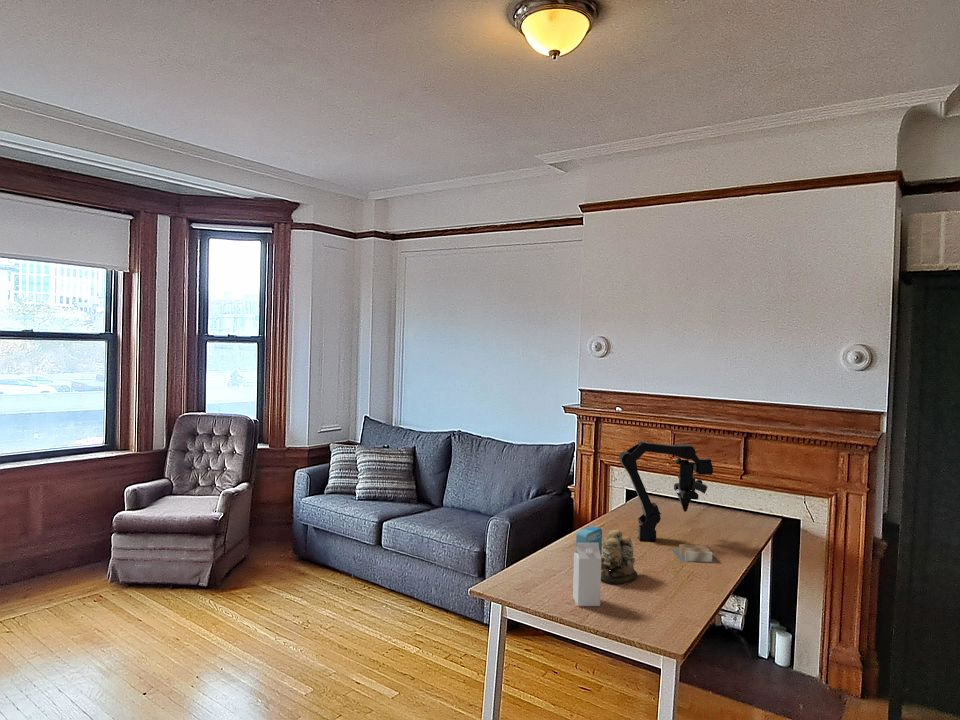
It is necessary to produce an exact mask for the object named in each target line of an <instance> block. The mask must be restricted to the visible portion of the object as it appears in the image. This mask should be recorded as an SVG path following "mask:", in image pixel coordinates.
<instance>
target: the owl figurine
mask: <svg viewBox="0 0 960 720" xmlns="http://www.w3.org/2000/svg"><path fill="white" fill-rule="evenodd" d="M632 541H633V540H632V538H631V536H628V535H624V536H623V533H622V531H621V530H620V529H611V530H609V532H608V533H607V535H606V538H604V540H603V541H602V554H603V555H602V556H603V557H604V561H603V562H601V566H603V568H604V569H603V570H601V582H605V583H608V584H610V585H614V586H621V585H622V586H623V585H624V584H625V585H626V584H632V583H633V582H635V581H636V580H637V579H638V572H637V571H636V570H635V568H634V563H635V561H636V559H635V557H634V547H633V546H634V544H633V542H632ZM609 570H611V571H609Z"/></svg>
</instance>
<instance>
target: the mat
mask: <svg viewBox="0 0 960 720" xmlns="http://www.w3.org/2000/svg"><path fill="white" fill-rule="evenodd" d="M670 550H671V552H672V553H673V554H674V555H675V556H676V557H677V559H678V560H679V561H680V562H681V563H685V562H686V563H703V562H702V561H685V560H684V558H683V557H682V556H681V555H680V554H679V548H678V549H675V548H671V549H670ZM704 563H705V564H706V563H708V564H710V563H711V564H712V563H713V564H718V563H719V562H718V560H716V559H715V557H713V556H712V562H704Z"/></svg>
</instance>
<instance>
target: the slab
mask: <svg viewBox="0 0 960 720" xmlns="http://www.w3.org/2000/svg"><path fill="white" fill-rule="evenodd" d="M678 549H679V554H680V555H681V556H682V557H683V558H684V560H685V561H702V562H701V563H705V562H712V557H713V552H712V550H710V549H709V547H707V546H706V545H705V544H683V543H682V544H681V543H680V544H679V543H678Z"/></svg>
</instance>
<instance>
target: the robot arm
mask: <svg viewBox="0 0 960 720" xmlns="http://www.w3.org/2000/svg"><path fill="white" fill-rule="evenodd" d="M646 452H647V453H655V454H665V455H672V456H675V457H678V458H677V459H676V460H674V463H675V464H676V465H679V468H678V472H679V473H678V475H677V479H678V482H676V483H674V485H673V490H674V491H677V490H678V492H676V495H677V497H678V500H679V503H680V505H681V507H682V510H683V512H685V513H686V512H687V511H688V508H689V506H690V503H691V501H692V500H696V501H697V500H699V494H698V492H701V493H702V494H704V495H705V494H706V491H707V489H708V485H706V484H705V483H703V480H702V479H700V478H698V479H697V480H696V478H695V477H694V473H696V475H697V476H712V475H713V473H714V467H713V463H712V459H711V458H699V457H698V455H697V454H696V453H697V452H696V449H695V447H694V446H691V445H690V444H688V443H678V444H677V443H676V444H664V443H655V442H648V441H644V440H643V441H642V440H641V441H638V442H637V443H636V444H635V445H633V446H632V447H630V448H628V449H627V450H624V451H622V452H620V454H619V456H618V460H619V462H620V463H621V465H622V466H623V468H624V470H625V471H626V472H627V474H628V475H629V478H630V482H631V483H632V485H633V487H634V490H635V491H636V494H637V497H638V499H639V501H640V503H641V511H642V514H641V515H640V516H639V517H638V519H637V520H638V523H639V524H638V534H637V535H638V537H637V539H638V540H639V542H641V543H642V542H643V543H656V541H657V530H656V528H657V525H658V524H659V523H660V521H661V520H662V518H661V515H662V513H661V512H660V510H659V506H658V505H657V504H656V503H655V502H654V501H653V502H652V501H651V500H650V496H649V495H648V492H647V489H646V487H645V485H644V483H643V481H642V480H643V479H642V478H641V476H640V474H639V471H638V465H637V461H638V460H639V459H640V458H641V457H642V456H643V455H644V454H645V453H646ZM690 460H691V461H690ZM696 491H698V492H696Z"/></svg>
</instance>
